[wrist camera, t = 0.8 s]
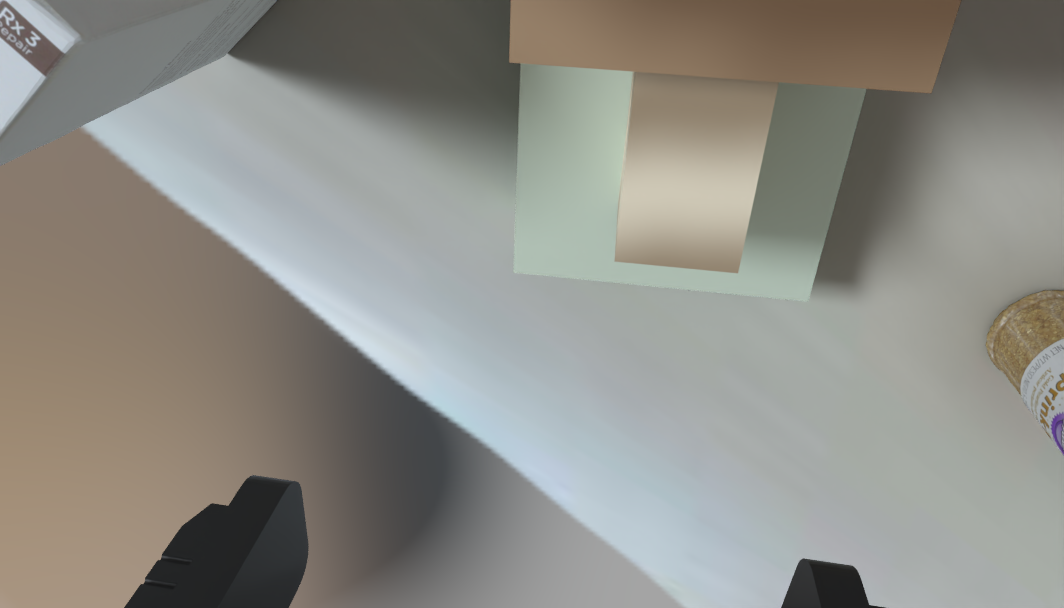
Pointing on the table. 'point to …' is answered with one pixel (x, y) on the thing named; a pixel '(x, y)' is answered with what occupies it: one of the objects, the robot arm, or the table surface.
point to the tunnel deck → (707, 51)
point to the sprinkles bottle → (1034, 356)
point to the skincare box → (102, 57)
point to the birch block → (691, 169)
